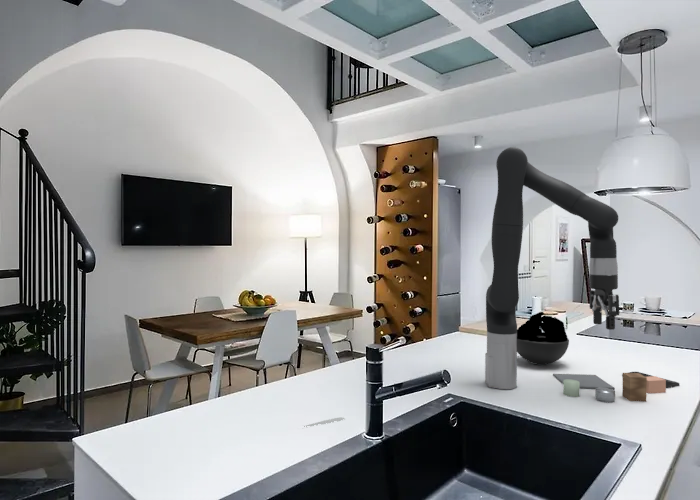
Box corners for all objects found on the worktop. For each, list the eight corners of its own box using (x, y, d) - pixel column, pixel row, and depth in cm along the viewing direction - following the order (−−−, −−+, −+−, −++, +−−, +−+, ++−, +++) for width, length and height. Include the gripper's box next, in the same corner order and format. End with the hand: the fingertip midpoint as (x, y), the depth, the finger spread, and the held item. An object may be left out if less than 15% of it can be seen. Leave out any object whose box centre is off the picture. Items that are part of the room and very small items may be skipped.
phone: (635, 371, 163) (681, 383, 149) (635, 374, 163) (681, 386, 149) (620, 373, 159) (665, 386, 146) (620, 377, 159) (665, 390, 146)
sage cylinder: (566, 396, 138) (566, 383, 138) (561, 392, 143) (561, 379, 143) (581, 397, 138) (581, 383, 138) (576, 392, 142) (576, 379, 142)
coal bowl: (552, 374, 161) (552, 320, 161) (500, 362, 176) (501, 313, 176) (578, 364, 174) (579, 314, 173) (528, 354, 189) (529, 308, 189)
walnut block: (629, 401, 135) (630, 377, 134) (622, 396, 139) (622, 372, 139) (646, 401, 134) (646, 377, 134) (638, 396, 139) (638, 373, 139)
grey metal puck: (599, 403, 133) (599, 392, 133) (592, 397, 138) (592, 387, 138) (618, 403, 133) (618, 393, 133) (610, 397, 138) (610, 387, 138)
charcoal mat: (567, 388, 146) (567, 386, 146) (552, 375, 160) (552, 373, 160) (614, 389, 145) (614, 387, 145) (595, 376, 159) (595, 374, 159)
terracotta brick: (648, 394, 141) (648, 381, 141) (638, 389, 145) (638, 377, 145) (665, 392, 142) (665, 379, 142) (654, 388, 146) (655, 376, 146)
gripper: (580, 271, 148) (581, 322, 148) (600, 274, 133) (601, 331, 134) (605, 271, 147) (606, 322, 147) (628, 274, 133) (628, 331, 133)
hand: (603, 326), depth 140 cm, fingers open, 8 cm apart
